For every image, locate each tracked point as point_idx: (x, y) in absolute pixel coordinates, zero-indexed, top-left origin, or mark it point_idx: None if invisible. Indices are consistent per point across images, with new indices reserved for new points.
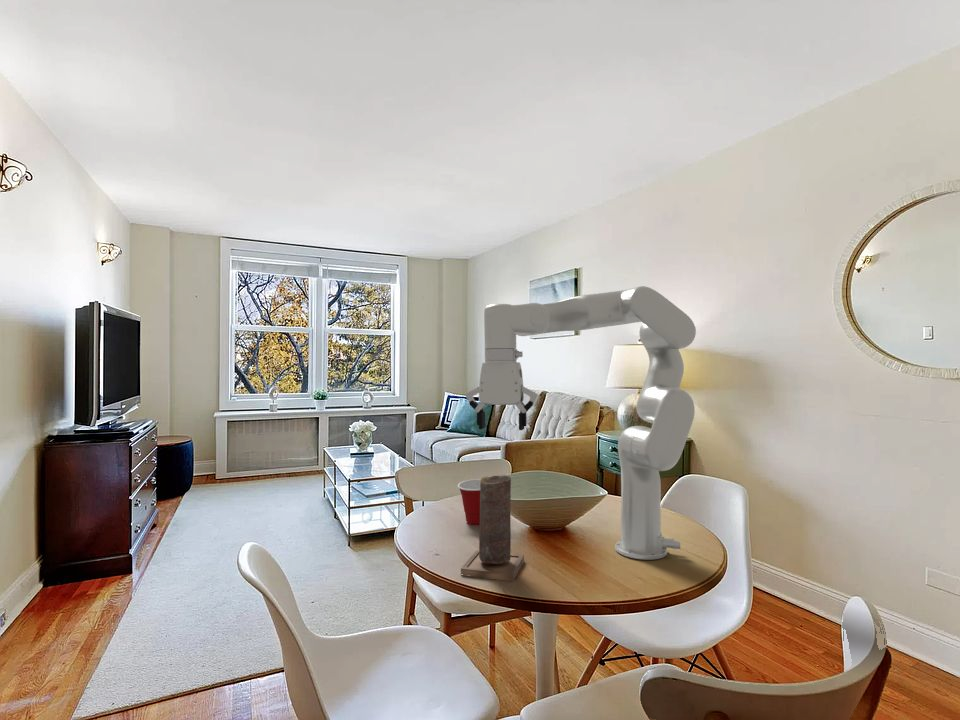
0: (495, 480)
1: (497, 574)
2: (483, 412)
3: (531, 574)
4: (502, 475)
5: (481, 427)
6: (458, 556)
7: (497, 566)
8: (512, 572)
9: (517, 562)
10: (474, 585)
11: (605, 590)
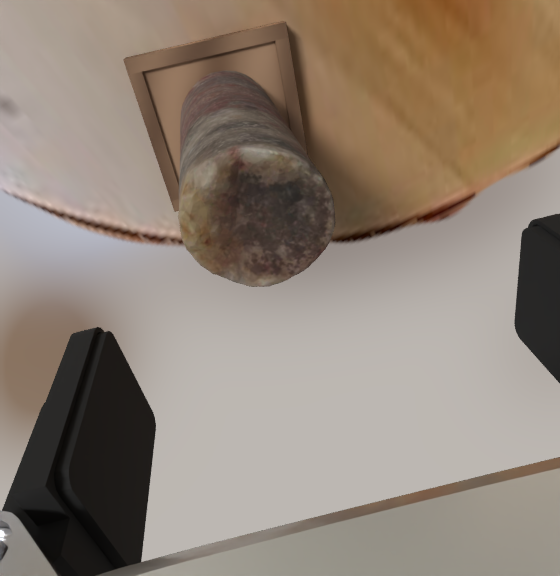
0: (254, 216)
1: None
2: (100, 528)
3: (336, 107)
4: (264, 156)
5: (152, 433)
6: (77, 87)
7: None
8: None
9: (290, 94)
10: None
11: (524, 110)
